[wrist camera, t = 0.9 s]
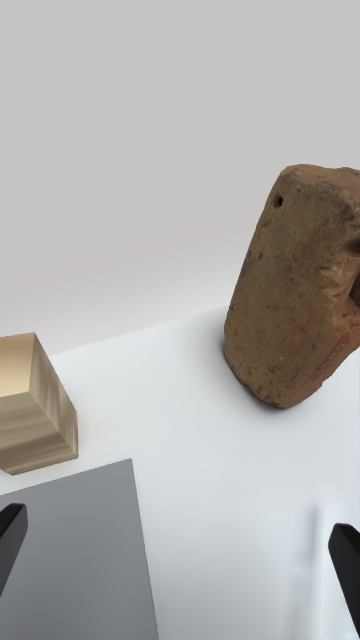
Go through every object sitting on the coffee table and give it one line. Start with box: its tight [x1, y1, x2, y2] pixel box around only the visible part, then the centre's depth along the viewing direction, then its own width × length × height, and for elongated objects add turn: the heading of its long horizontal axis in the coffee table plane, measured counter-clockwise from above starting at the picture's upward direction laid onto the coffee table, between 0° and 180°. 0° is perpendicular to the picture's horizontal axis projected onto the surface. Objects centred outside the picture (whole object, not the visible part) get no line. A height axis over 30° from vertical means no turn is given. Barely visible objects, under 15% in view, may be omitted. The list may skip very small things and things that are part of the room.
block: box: [224, 164, 360, 409], centre depth 22 cm, size 11×8×20 cm
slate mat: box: [0, 458, 158, 640], centre depth 15 cm, size 16×11×1 cm
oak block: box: [0, 332, 78, 476], centre depth 18 cm, size 4×5×12 cm
